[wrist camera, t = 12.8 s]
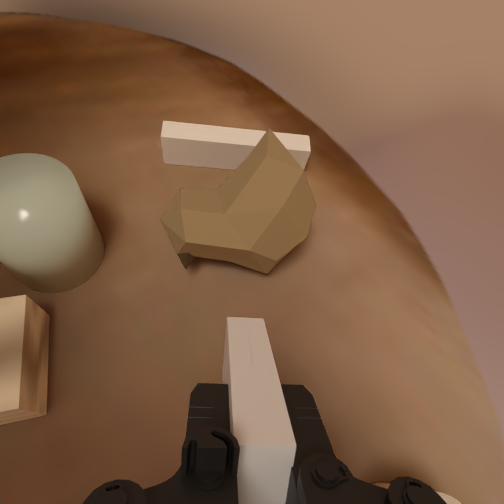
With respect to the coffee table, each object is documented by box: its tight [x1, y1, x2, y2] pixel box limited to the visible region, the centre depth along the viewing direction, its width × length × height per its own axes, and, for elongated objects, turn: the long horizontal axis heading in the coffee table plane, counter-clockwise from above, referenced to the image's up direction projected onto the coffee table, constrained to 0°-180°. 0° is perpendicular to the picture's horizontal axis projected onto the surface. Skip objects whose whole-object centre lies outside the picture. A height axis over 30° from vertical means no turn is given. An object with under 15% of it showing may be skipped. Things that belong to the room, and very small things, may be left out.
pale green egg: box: [0, 153, 104, 293], centre depth 30 cm, size 8×8×9 cm
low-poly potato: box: [160, 128, 316, 274], centre depth 33 cm, size 15×11×12 cm
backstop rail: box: [161, 121, 311, 170], centre depth 40 cm, size 2×16×4 cm, turn 90°
